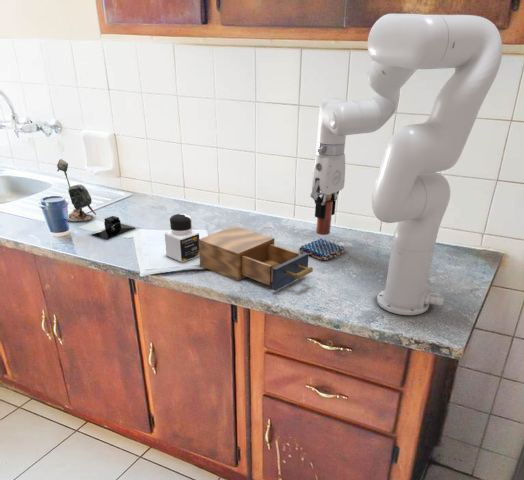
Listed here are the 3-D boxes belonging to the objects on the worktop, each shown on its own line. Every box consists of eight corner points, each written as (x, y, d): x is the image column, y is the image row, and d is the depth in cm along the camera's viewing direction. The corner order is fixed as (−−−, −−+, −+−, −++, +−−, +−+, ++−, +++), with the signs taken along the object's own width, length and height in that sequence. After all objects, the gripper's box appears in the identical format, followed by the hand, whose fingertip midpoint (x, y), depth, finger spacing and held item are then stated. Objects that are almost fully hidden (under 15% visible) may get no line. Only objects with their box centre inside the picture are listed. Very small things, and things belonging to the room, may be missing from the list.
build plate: (106, 240, 160) (104, 226, 158) (90, 235, 164) (88, 221, 161) (135, 228, 169) (133, 214, 167) (119, 224, 172) (117, 210, 170)
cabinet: (273, 264, 147) (274, 238, 142) (238, 281, 137) (238, 253, 133) (235, 250, 155) (235, 225, 150) (199, 265, 145) (198, 239, 141)
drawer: (320, 278, 137) (322, 258, 134) (288, 296, 128) (289, 274, 125) (268, 260, 146) (269, 240, 143) (236, 275, 138) (235, 255, 135)
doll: (332, 232, 151) (336, 190, 145) (324, 236, 149) (328, 193, 142) (321, 229, 153) (324, 187, 147) (313, 232, 151) (316, 190, 144)
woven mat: (346, 252, 154) (347, 246, 153) (324, 262, 148) (324, 256, 147) (320, 243, 161) (320, 237, 159) (297, 252, 154) (297, 245, 153)
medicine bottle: (182, 263, 146) (178, 222, 140) (166, 256, 151) (162, 215, 144) (200, 255, 151) (198, 215, 144) (184, 249, 155) (182, 210, 148)
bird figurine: (86, 225, 171) (75, 163, 160) (60, 220, 175) (47, 159, 164) (102, 218, 177) (92, 157, 166) (76, 213, 181) (65, 153, 170)
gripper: (324, 156, 131) (318, 226, 141) (358, 146, 141) (351, 211, 152) (300, 152, 135) (296, 220, 145) (336, 142, 145) (330, 206, 156)
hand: (324, 215), depth 148 cm, fingers closed on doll, 4 cm apart
